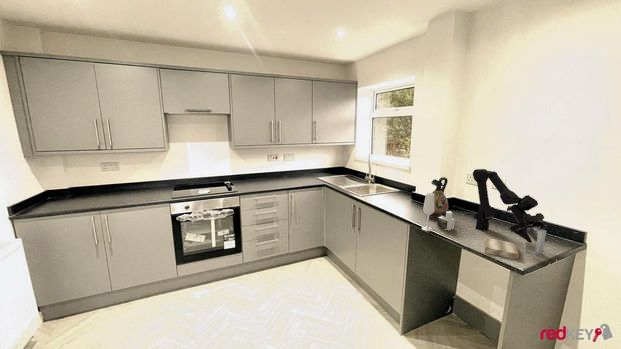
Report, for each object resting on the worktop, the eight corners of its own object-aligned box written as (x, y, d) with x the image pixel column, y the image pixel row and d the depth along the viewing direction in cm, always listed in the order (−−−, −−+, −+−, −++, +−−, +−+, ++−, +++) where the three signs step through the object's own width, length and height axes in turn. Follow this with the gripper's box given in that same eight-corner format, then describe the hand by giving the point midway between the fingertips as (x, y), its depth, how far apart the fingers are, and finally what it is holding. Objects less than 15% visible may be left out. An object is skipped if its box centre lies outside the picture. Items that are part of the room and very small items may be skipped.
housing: (534, 255, 133) (538, 231, 131) (525, 250, 138) (528, 227, 136) (542, 254, 134) (546, 230, 132) (532, 249, 139) (536, 227, 137)
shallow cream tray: (484, 252, 136) (485, 247, 136) (484, 242, 148) (484, 237, 147) (517, 259, 129) (518, 254, 128) (514, 248, 141) (515, 243, 140)
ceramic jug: (434, 220, 182) (437, 179, 177) (420, 213, 197) (422, 175, 191) (454, 218, 186) (458, 178, 181) (439, 211, 201) (442, 174, 195)
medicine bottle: (437, 227, 171) (438, 210, 169) (444, 225, 174) (446, 208, 172) (446, 231, 165) (448, 213, 162) (454, 229, 167) (455, 211, 165)
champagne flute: (434, 229, 167) (438, 194, 163) (429, 232, 163) (432, 195, 159) (425, 226, 172) (428, 191, 168) (419, 228, 169) (422, 193, 164)
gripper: (518, 209, 134) (536, 237, 125) (546, 206, 138) (566, 234, 129) (502, 218, 143) (518, 245, 134) (529, 215, 147) (547, 242, 138)
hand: (538, 241), depth 134 cm, fingers open, 9 cm apart
